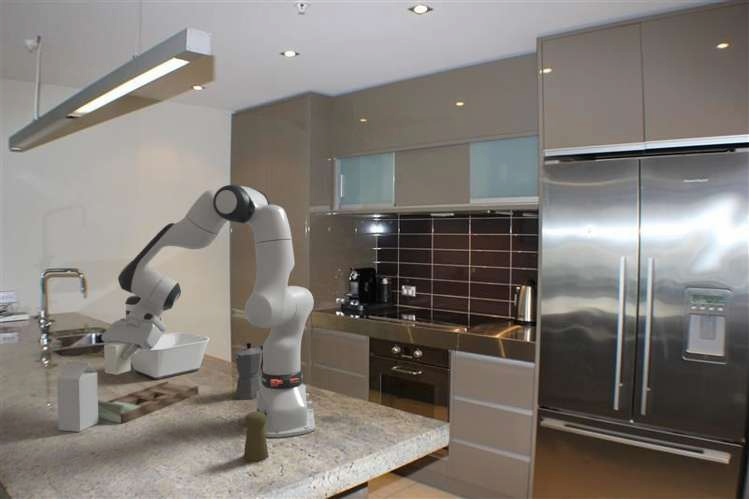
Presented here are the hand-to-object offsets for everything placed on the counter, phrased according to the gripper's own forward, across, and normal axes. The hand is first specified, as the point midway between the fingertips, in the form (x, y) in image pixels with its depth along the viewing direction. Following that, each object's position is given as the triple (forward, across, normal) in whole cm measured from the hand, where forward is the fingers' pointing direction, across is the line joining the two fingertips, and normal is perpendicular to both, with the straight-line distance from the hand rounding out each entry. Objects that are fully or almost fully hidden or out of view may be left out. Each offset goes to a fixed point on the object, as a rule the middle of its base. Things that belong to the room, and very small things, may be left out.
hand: (115, 357), depth 154 cm
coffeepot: (-11, +25, +36) cm, 45 cm away
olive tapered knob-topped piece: (+17, +57, +8) cm, 60 cm away
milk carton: (+20, -2, +5) cm, 21 cm away
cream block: (+3, 0, +4) cm, 4 cm away
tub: (-18, -25, +44) cm, 53 cm away
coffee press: (-30, -58, +56) cm, 86 cm away
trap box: (+5, 0, +20) cm, 21 cm away
